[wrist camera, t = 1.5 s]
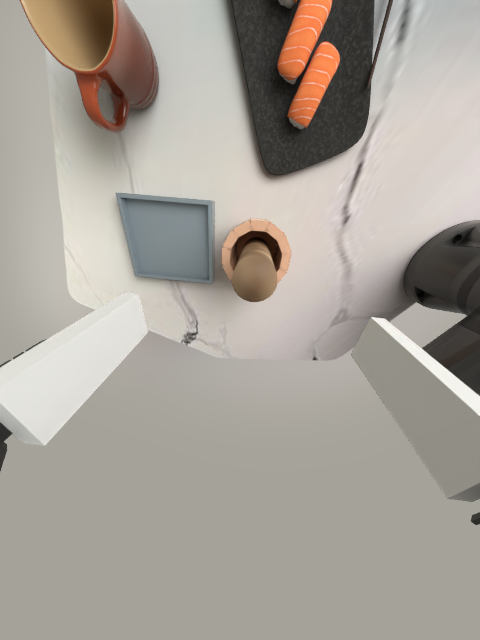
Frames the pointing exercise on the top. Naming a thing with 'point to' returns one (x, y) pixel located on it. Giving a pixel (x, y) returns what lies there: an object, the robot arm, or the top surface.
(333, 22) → the sushi plate
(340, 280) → the top surface
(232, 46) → the top surface
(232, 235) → the cup
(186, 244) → the tray
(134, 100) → the mug
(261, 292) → the peg
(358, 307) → the top surface
